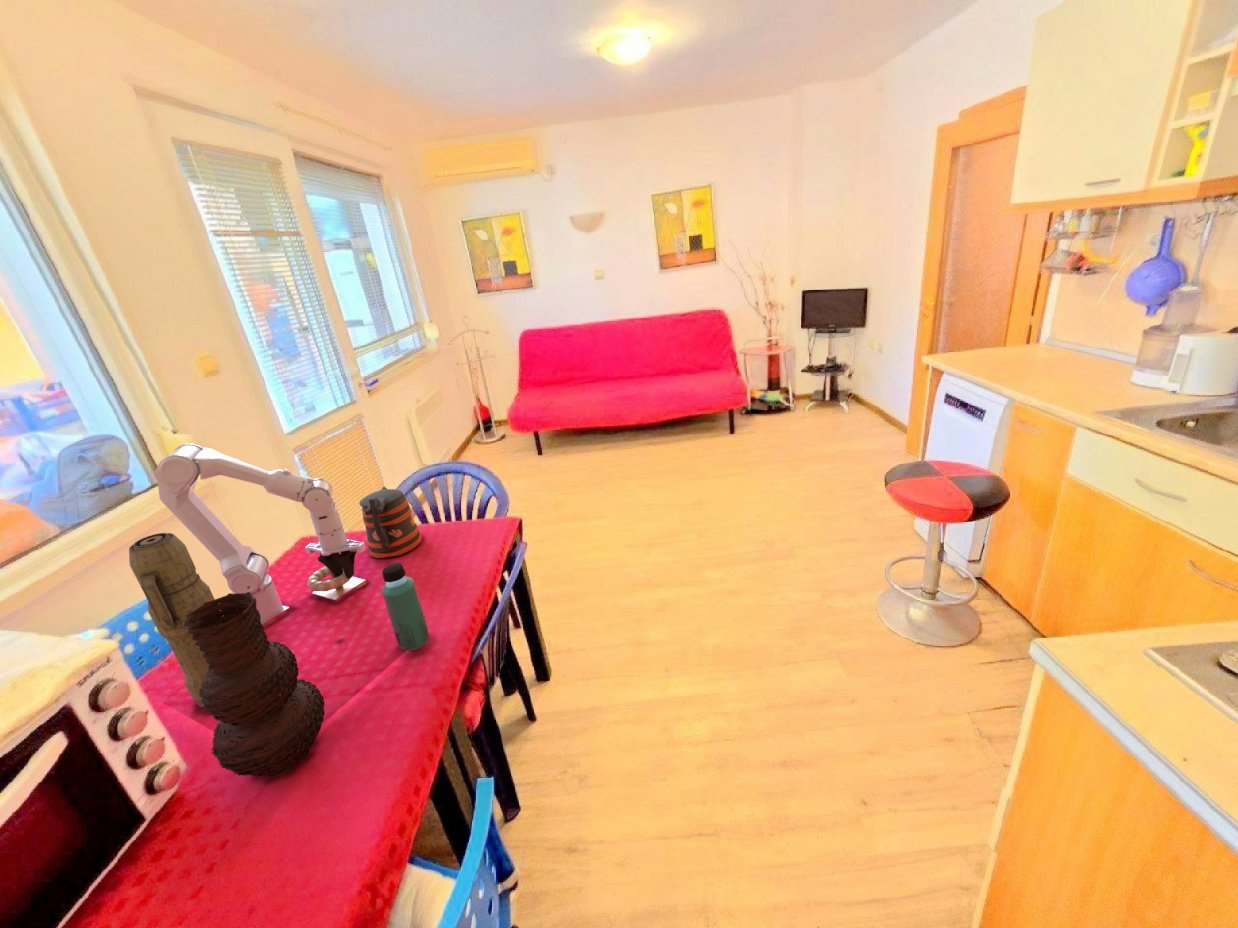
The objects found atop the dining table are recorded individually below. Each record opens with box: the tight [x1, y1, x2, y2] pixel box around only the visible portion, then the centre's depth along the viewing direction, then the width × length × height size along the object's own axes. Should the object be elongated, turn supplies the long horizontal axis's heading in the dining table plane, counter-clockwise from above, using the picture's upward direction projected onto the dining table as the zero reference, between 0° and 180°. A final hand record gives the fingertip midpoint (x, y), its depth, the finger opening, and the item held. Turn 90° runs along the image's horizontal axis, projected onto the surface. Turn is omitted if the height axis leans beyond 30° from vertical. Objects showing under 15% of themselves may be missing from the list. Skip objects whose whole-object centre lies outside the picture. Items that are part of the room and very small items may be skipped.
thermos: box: [128, 532, 216, 708], centre depth 93 cm, size 9×12×35 cm
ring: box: [306, 565, 354, 592], centre depth 128 cm, size 10×10×2 cm
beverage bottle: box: [381, 562, 430, 652], centre depth 104 cm, size 6×7×20 cm
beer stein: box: [359, 486, 422, 559], centre depth 144 cm, size 19×15×20 cm
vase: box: [180, 592, 326, 780], centre depth 80 cm, size 15×15×30 cm
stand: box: [311, 570, 368, 601], centre depth 129 cm, size 9×9×7 cm
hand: (345, 576), depth 127 cm, fingers closed on ring, 2 cm apart
